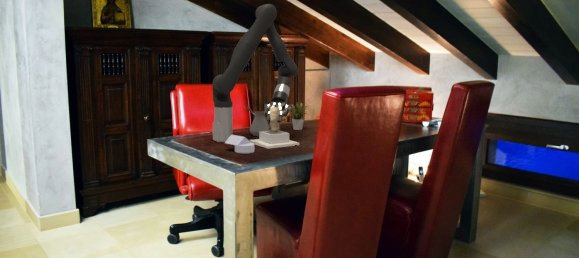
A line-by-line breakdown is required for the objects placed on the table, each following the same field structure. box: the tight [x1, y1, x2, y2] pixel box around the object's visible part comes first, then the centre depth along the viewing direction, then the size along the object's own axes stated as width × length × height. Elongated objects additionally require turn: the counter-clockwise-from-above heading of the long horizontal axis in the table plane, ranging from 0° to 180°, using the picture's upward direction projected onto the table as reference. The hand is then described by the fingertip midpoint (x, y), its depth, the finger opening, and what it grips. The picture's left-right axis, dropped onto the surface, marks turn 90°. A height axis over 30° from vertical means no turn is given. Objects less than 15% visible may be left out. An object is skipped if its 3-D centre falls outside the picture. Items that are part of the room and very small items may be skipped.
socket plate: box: [248, 130, 300, 150], centre depth 246 cm, size 18×18×6 cm
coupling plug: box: [269, 107, 281, 132], centre depth 245 cm, size 6×5×12 cm
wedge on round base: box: [224, 134, 255, 154], centre depth 228 cm, size 9×7×13 cm
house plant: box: [288, 102, 310, 131], centre depth 290 cm, size 14×14×16 cm
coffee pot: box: [244, 105, 270, 137], centre depth 273 cm, size 21×12×15 cm, turn 37°
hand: (273, 121), depth 243 cm, fingers closed on coupling plug, 4 cm apart
